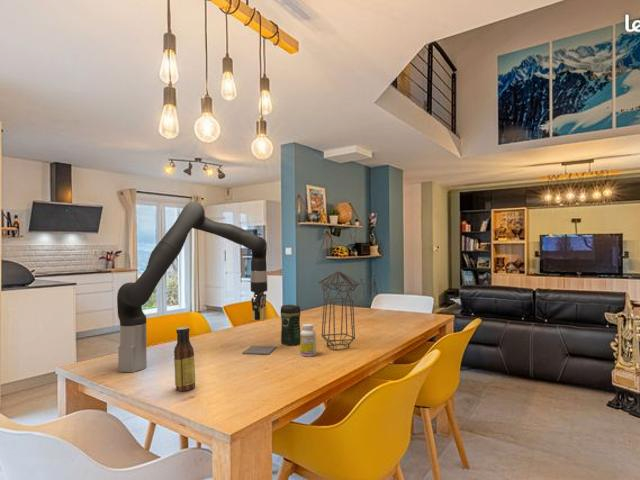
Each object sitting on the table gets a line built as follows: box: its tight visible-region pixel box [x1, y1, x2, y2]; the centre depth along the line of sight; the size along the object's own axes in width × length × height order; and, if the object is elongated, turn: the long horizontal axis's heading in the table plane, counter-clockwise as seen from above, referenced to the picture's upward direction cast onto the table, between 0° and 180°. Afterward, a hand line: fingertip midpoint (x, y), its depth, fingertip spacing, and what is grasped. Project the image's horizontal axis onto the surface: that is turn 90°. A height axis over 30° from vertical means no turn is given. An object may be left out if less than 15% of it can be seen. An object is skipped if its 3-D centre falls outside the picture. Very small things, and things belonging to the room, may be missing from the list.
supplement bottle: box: [299, 323, 317, 358], centre depth 160 cm, size 7×7×13 cm
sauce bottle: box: [173, 326, 196, 392], centre depth 123 cm, size 7×6×20 cm
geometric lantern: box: [317, 270, 360, 351], centre depth 172 cm, size 16×16×35 cm
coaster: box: [241, 345, 277, 356], centre depth 167 cm, size 12×12×1 cm
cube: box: [251, 307, 268, 322], centre depth 168 cm, size 5×5×5 cm
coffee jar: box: [280, 304, 302, 346], centre depth 180 cm, size 10×8×19 cm
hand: (259, 318), depth 168 cm, fingers closed on cube, 5 cm apart
